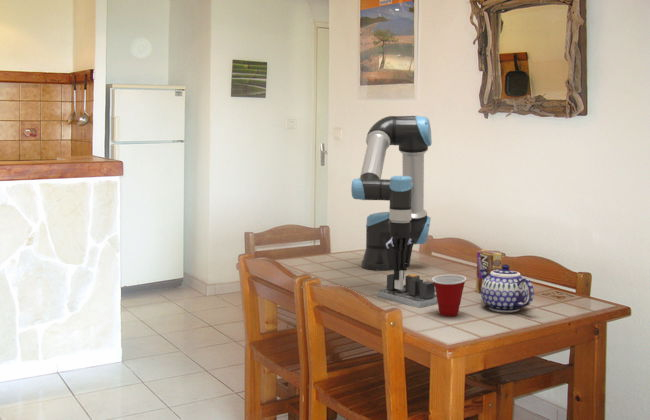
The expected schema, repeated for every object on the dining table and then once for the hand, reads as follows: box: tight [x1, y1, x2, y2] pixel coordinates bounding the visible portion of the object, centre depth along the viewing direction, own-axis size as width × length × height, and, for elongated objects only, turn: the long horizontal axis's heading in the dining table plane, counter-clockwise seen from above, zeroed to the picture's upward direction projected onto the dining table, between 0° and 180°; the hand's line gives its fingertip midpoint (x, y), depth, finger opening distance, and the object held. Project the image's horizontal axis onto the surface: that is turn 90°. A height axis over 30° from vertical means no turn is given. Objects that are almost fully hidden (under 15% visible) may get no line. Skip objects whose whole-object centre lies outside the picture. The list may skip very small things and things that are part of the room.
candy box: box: [475, 249, 503, 294], centre depth 249 cm, size 9×4×15 cm, turn 26°
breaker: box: [404, 273, 420, 291], centre depth 245 cm, size 4×3×5 cm
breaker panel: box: [376, 273, 438, 309], centre depth 243 cm, size 20×20×7 cm
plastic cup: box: [431, 274, 467, 317], centre depth 221 cm, size 11×11×12 cm
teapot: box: [479, 263, 535, 313], centre depth 229 cm, size 25×15×15 cm, turn 25°
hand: (398, 288), depth 241 cm, fingers closed
